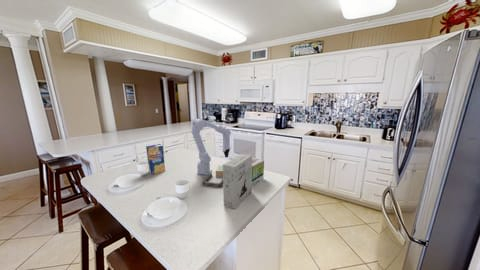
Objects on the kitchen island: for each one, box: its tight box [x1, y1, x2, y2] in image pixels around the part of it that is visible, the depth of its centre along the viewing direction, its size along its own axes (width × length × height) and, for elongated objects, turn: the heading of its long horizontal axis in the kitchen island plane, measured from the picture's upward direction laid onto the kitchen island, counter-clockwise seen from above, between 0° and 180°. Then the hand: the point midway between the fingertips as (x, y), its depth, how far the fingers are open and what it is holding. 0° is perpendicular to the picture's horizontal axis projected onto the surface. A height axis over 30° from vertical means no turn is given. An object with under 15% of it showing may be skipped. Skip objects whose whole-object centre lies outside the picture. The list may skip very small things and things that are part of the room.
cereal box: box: [222, 153, 253, 210], centre depth 106 cm, size 22×8×25 cm, turn 151°
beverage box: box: [146, 143, 166, 175], centre depth 145 cm, size 7×11×22 cm, turn 129°
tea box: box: [252, 157, 265, 187], centre depth 130 cm, size 15×10×15 cm, turn 143°
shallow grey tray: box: [201, 172, 223, 189], centre depth 130 cm, size 13×15×2 cm
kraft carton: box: [215, 164, 223, 178], centre depth 143 cm, size 8×12×5 cm, turn 179°
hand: (226, 157), depth 155 cm, fingers closed
